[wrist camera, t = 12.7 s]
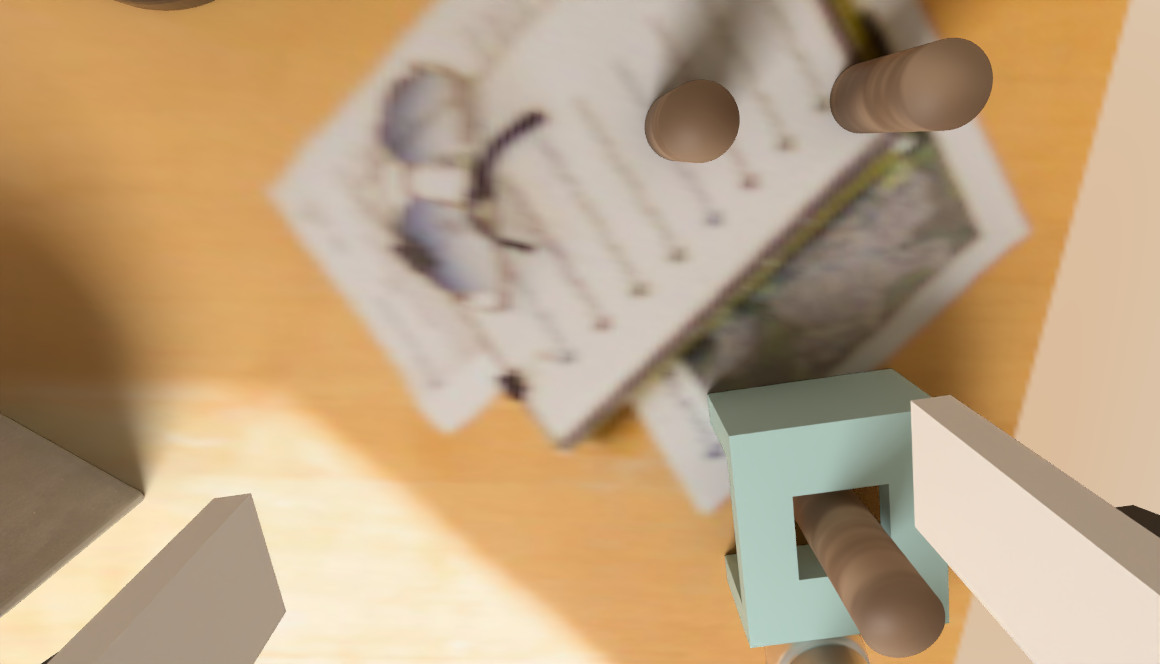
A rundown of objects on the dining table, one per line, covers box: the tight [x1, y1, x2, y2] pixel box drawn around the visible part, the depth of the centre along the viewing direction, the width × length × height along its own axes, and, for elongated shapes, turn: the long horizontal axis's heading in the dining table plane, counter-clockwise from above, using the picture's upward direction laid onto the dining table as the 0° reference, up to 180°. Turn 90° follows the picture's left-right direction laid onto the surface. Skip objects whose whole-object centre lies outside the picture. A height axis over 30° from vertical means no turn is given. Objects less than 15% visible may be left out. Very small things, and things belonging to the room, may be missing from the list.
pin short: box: [645, 80, 740, 163], centre depth 39 cm, size 4×4×7 cm
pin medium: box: [830, 38, 993, 133], centre depth 38 cm, size 4×4×10 cm
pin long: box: [793, 489, 945, 658], centre depth 41 cm, size 4×4×15 cm
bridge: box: [707, 368, 949, 648], centre depth 45 cm, size 14×12×7 cm
